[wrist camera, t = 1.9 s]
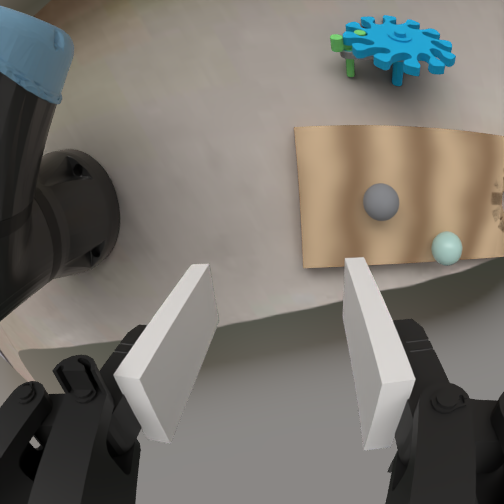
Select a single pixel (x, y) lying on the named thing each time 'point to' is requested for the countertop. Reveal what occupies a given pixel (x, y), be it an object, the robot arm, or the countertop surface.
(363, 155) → the board
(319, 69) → the countertop surface
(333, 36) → the gear
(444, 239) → the teal ball
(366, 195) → the grey ball
